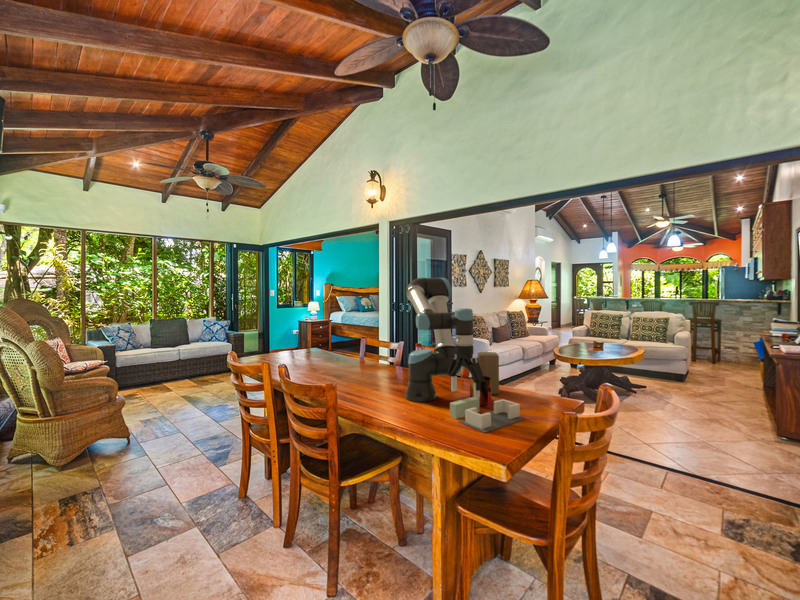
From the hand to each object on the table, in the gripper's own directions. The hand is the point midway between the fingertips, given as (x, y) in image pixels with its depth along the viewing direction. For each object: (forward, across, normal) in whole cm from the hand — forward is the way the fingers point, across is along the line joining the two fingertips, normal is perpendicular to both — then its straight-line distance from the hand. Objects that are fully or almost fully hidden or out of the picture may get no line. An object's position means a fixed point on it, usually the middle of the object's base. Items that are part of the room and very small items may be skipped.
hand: (465, 394), depth 152 cm
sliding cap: (+8, +11, +13) cm, 19 cm away
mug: (+9, -4, +16) cm, 19 cm away
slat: (+9, -1, 0) cm, 9 cm away
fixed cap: (+8, +11, -4) cm, 15 cm away
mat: (+9, +11, +4) cm, 15 cm away
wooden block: (+8, -18, +33) cm, 39 cm away
